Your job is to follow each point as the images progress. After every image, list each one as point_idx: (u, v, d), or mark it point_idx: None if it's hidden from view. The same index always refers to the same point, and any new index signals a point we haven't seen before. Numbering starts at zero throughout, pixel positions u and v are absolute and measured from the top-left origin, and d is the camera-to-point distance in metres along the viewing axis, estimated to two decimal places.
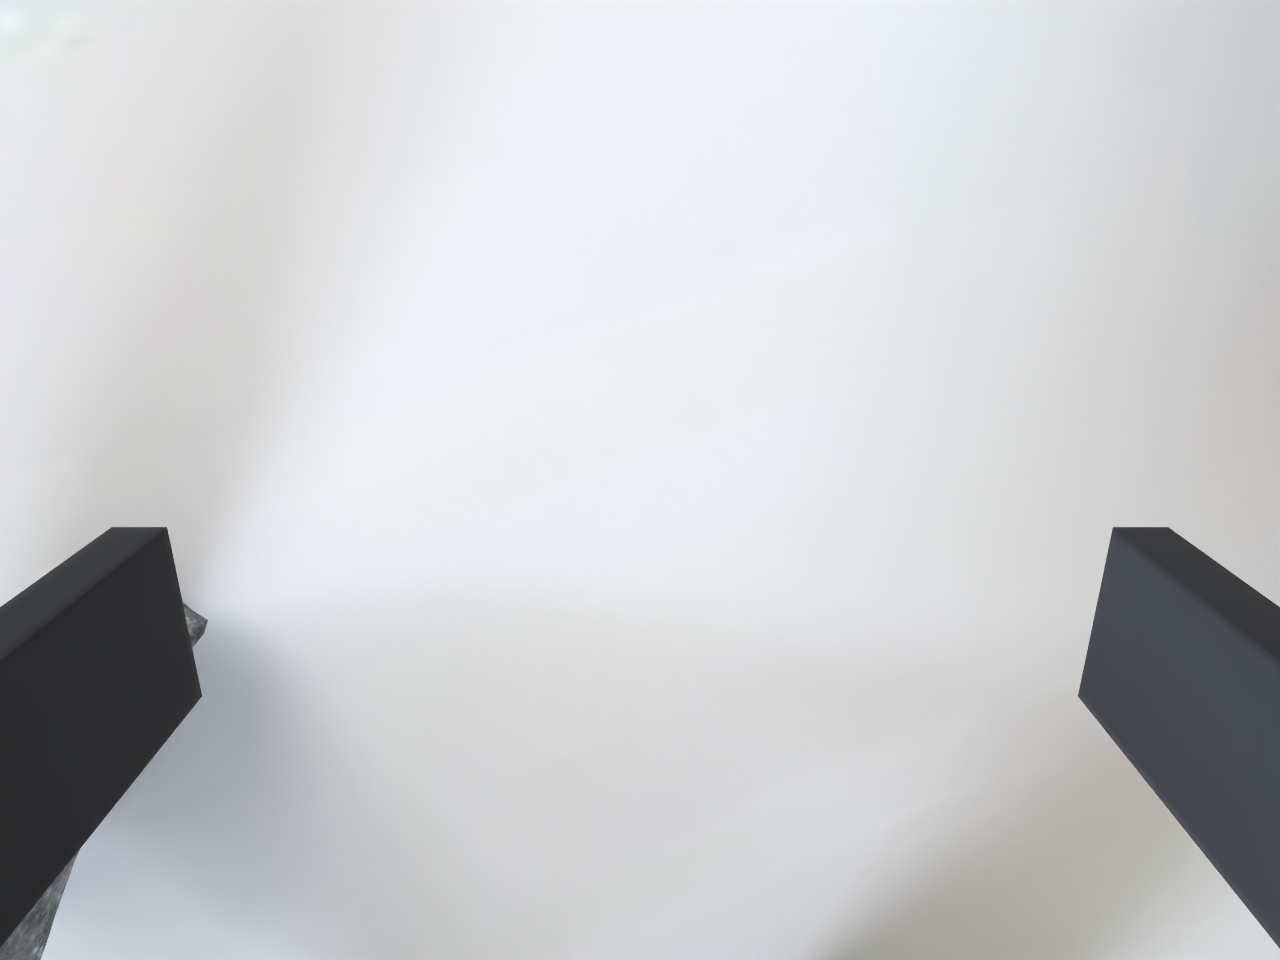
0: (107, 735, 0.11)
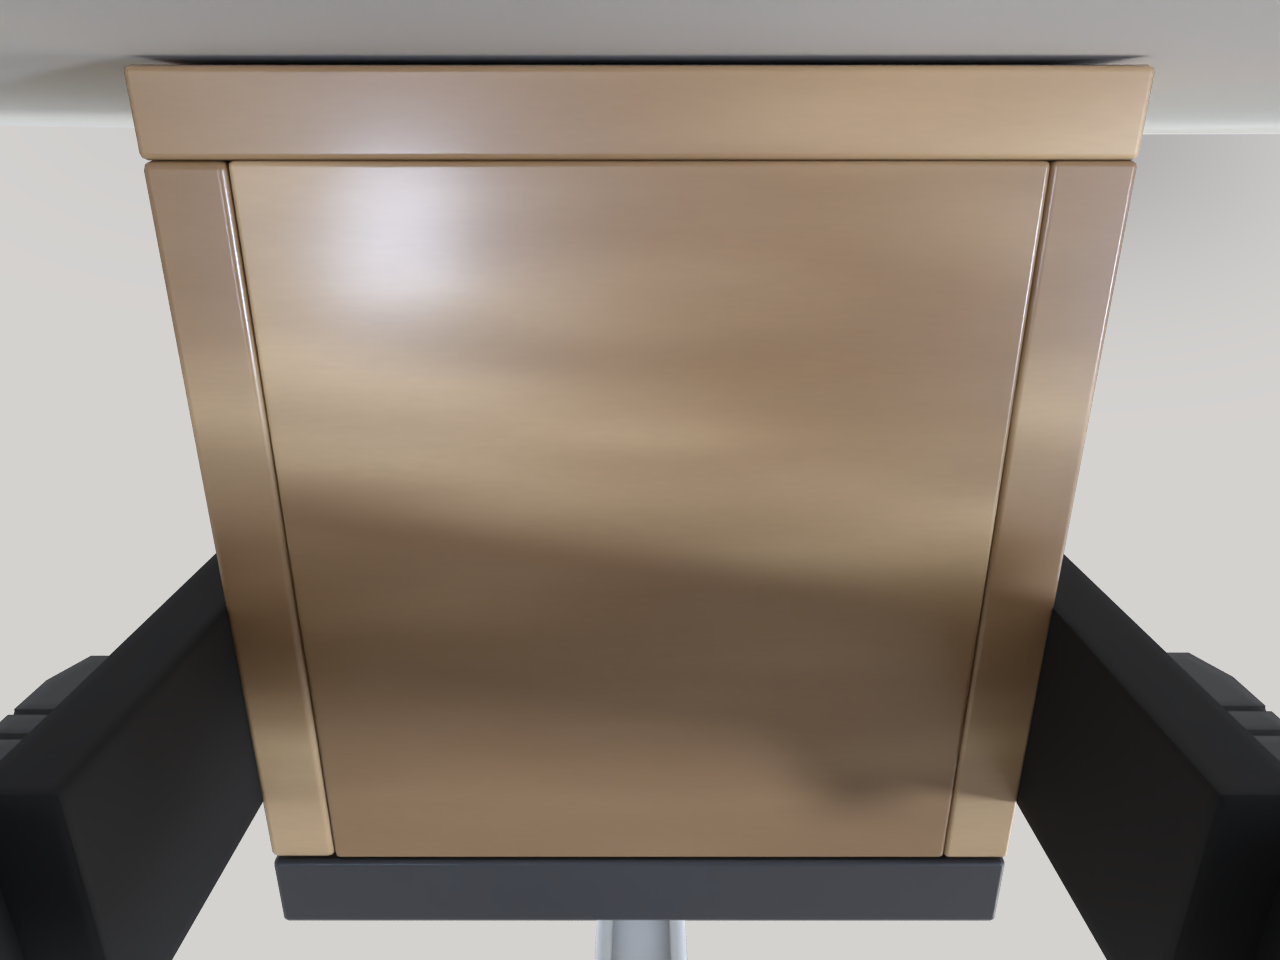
0: None
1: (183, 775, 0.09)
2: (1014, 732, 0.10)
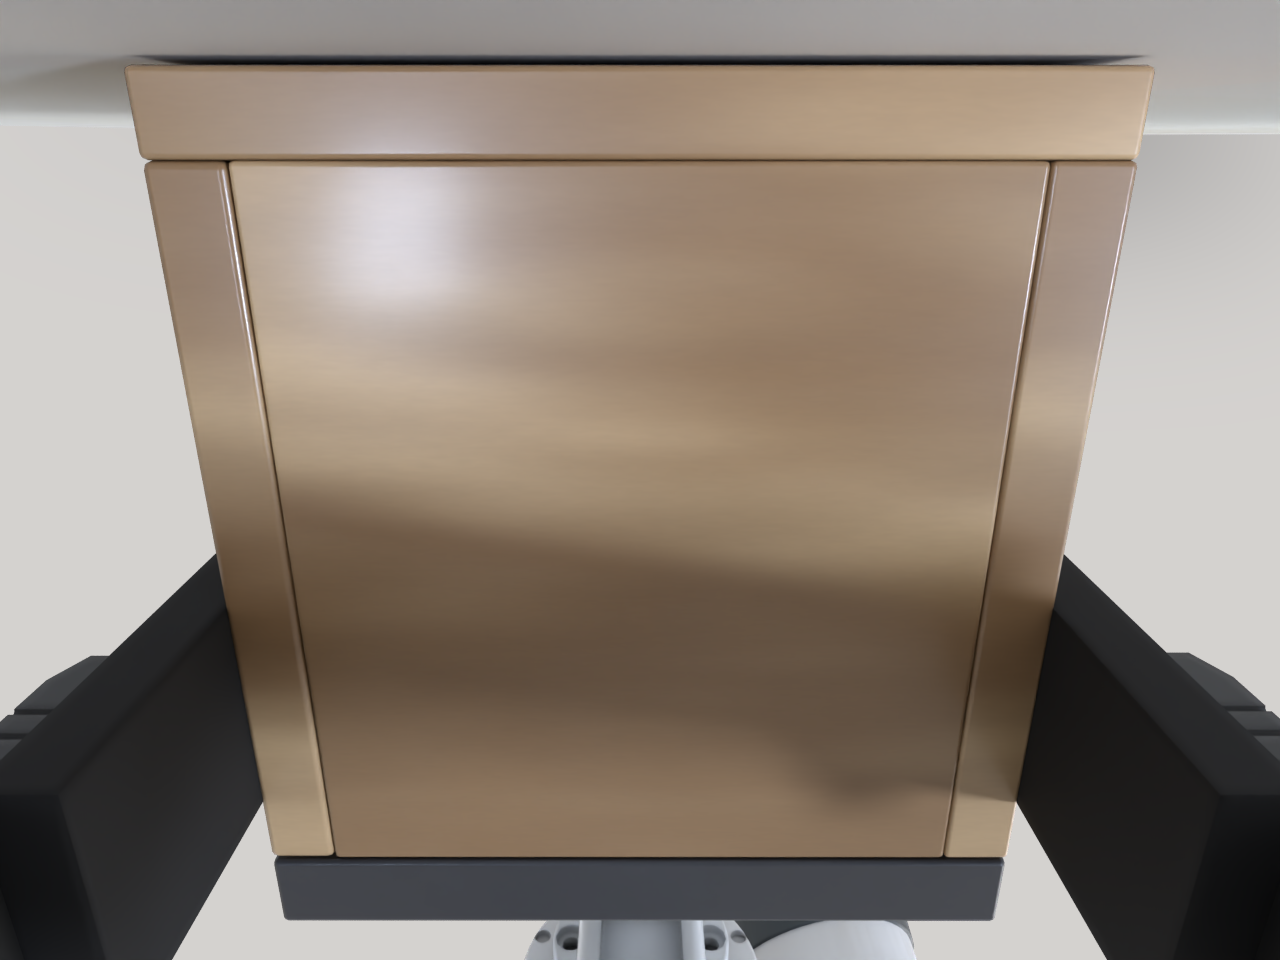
0: None
1: (183, 775, 0.09)
2: (1014, 732, 0.10)
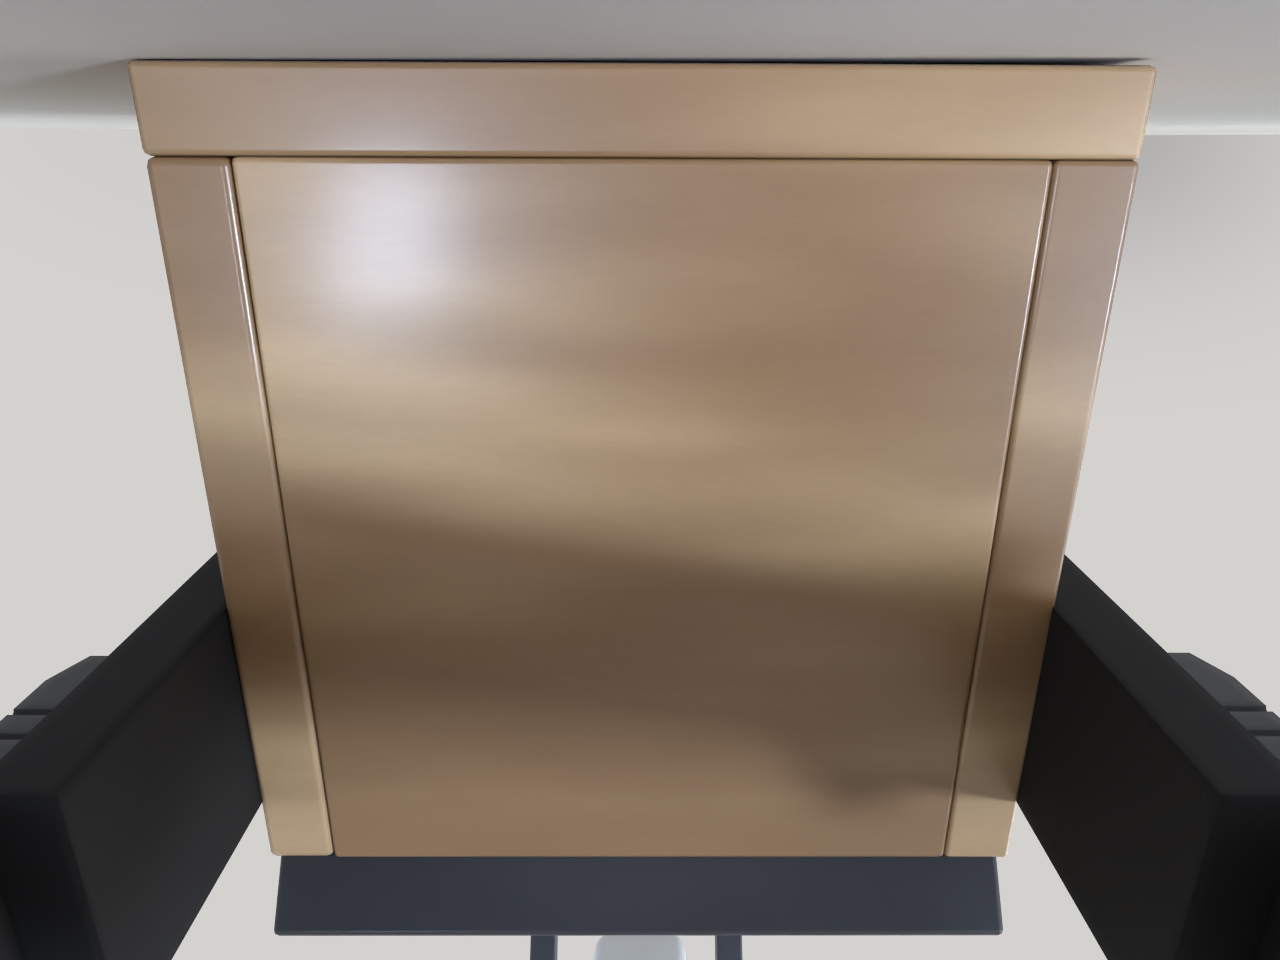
0: None
1: (182, 775, 0.09)
2: (1015, 731, 0.10)
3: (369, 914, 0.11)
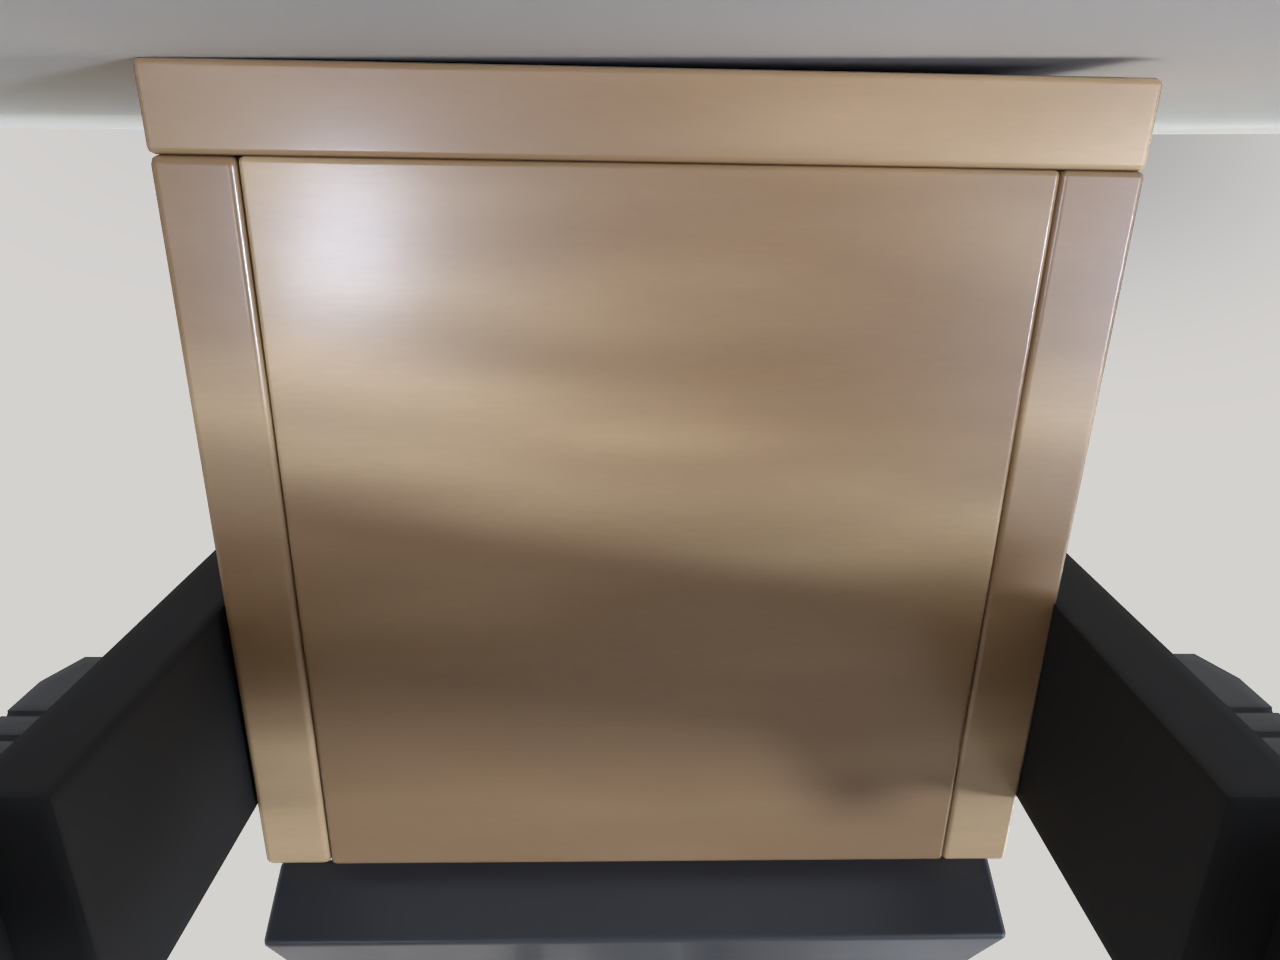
0: None
1: (176, 777, 0.09)
2: (1013, 734, 0.11)
3: (365, 922, 0.11)
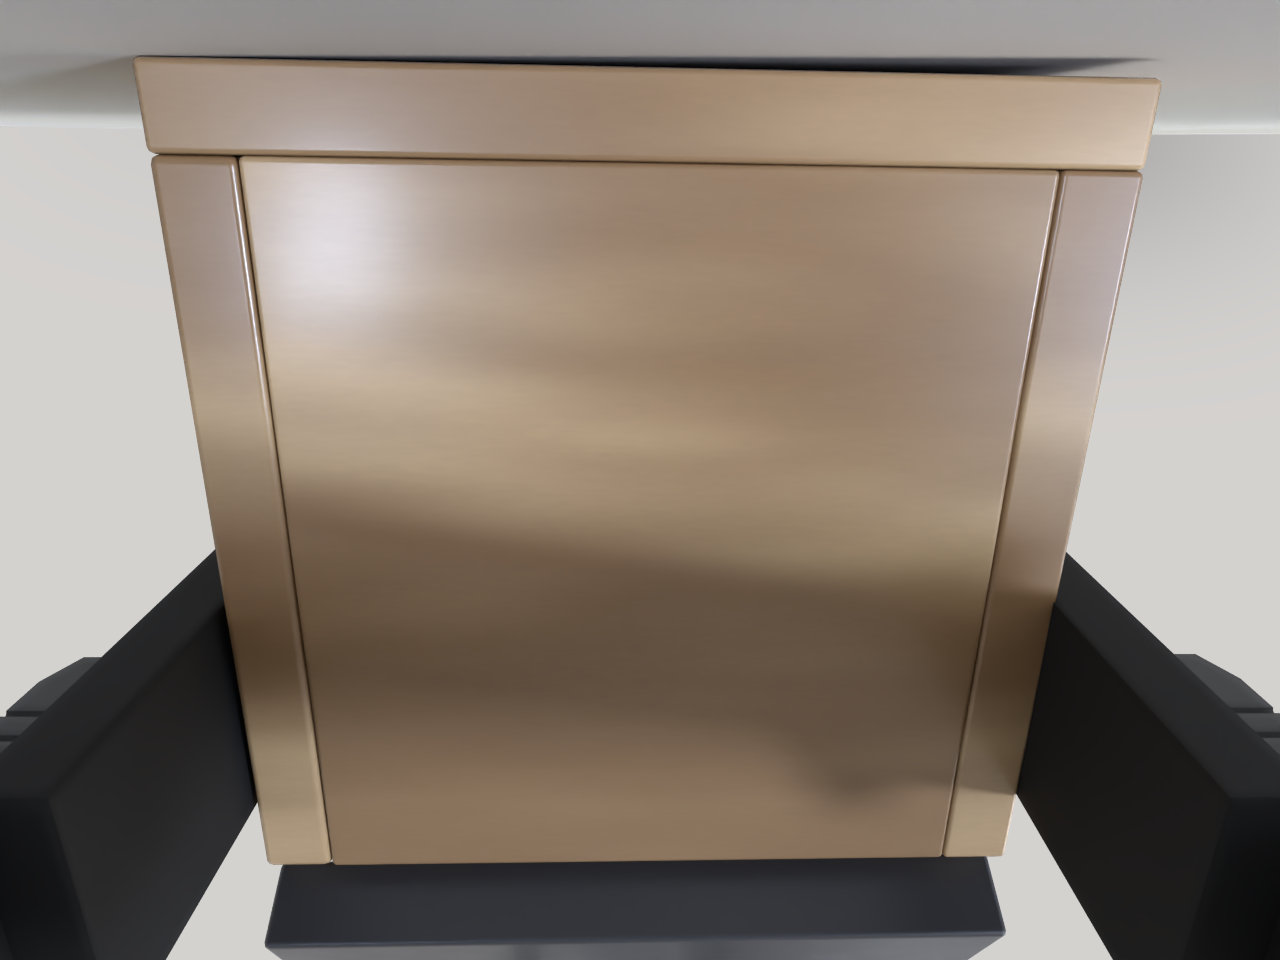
0: None
1: (175, 777, 0.09)
2: (1013, 733, 0.11)
3: (365, 923, 0.11)
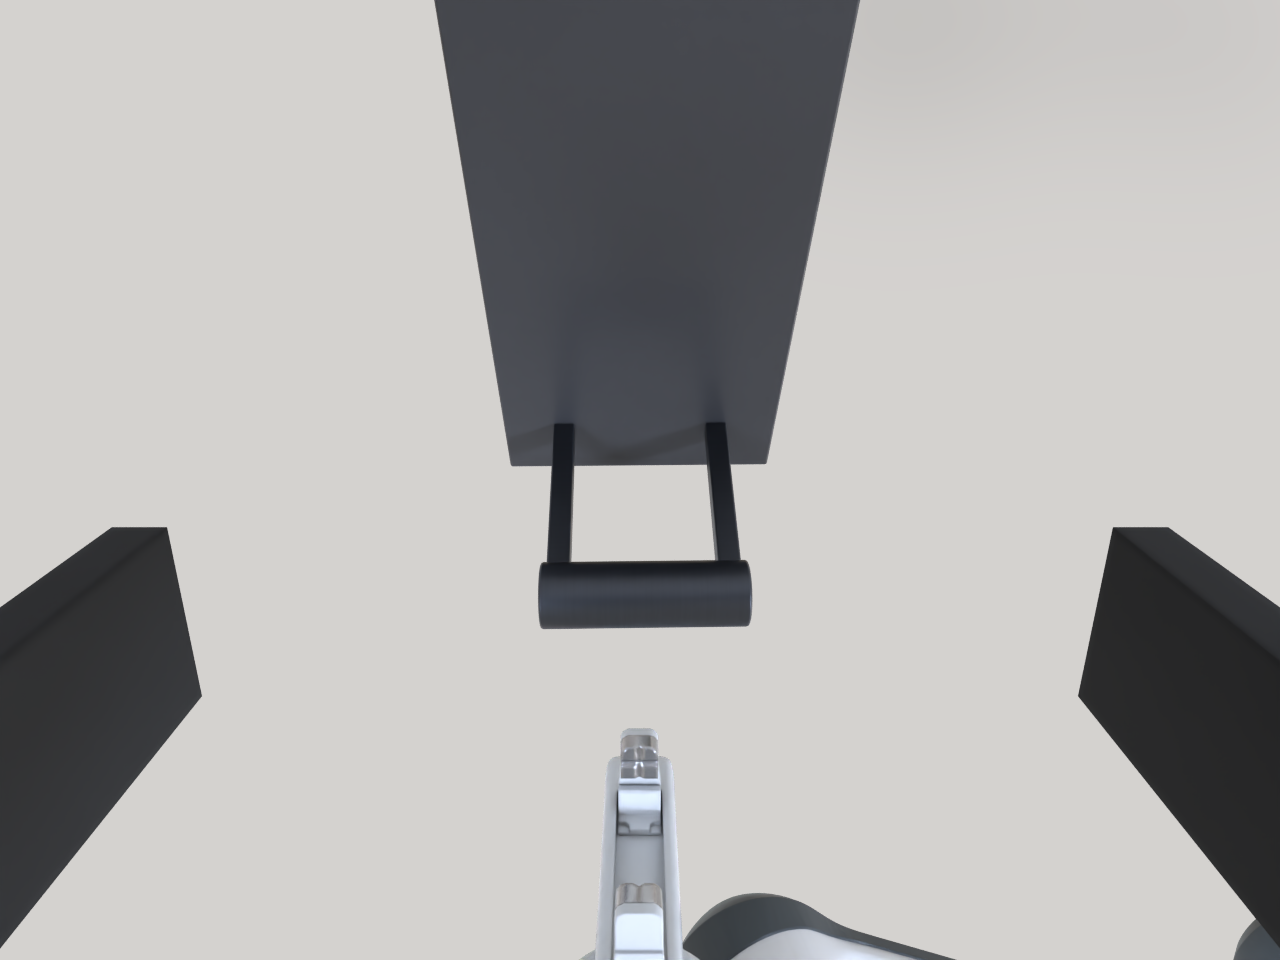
0: (107, 735, 0.11)
1: None
2: None
3: None
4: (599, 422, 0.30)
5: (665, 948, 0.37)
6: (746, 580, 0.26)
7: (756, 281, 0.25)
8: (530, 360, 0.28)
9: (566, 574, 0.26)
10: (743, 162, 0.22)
